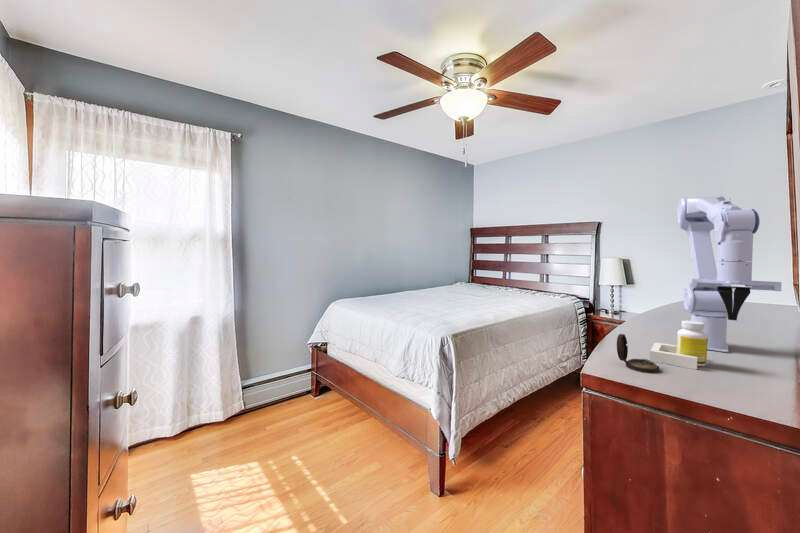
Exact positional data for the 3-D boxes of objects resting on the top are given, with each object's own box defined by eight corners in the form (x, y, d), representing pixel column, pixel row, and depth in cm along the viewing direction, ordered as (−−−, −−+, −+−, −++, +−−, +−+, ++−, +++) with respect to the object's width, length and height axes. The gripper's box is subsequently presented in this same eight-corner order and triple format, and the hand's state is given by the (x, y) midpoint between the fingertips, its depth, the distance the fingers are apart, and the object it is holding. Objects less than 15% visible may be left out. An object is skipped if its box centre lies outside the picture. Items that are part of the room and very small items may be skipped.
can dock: (654, 351, 87) (655, 342, 87) (698, 358, 81) (698, 348, 81) (649, 360, 80) (649, 350, 80) (696, 369, 74) (697, 358, 74)
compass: (657, 375, 71) (658, 342, 70) (614, 366, 76) (615, 335, 76) (663, 366, 76) (664, 335, 76) (623, 358, 82) (623, 329, 81)
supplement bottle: (712, 368, 75) (714, 325, 74) (684, 365, 76) (686, 323, 75) (696, 360, 80) (698, 320, 80) (670, 358, 81) (672, 319, 81)
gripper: (691, 261, 79) (690, 317, 79) (784, 262, 69) (782, 326, 69) (693, 261, 84) (691, 314, 84) (779, 261, 74) (777, 322, 74)
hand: (732, 319), depth 77 cm, fingers closed
